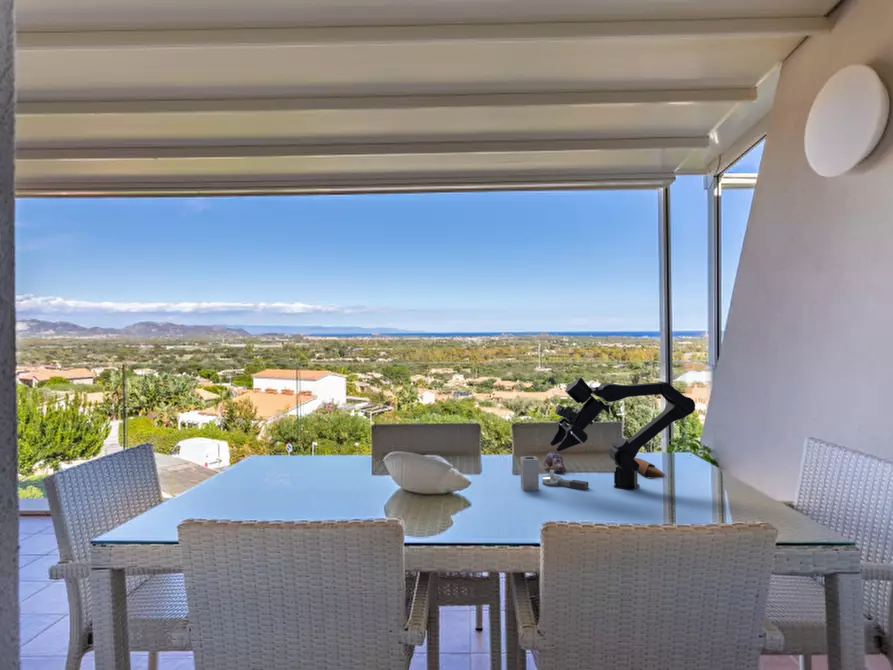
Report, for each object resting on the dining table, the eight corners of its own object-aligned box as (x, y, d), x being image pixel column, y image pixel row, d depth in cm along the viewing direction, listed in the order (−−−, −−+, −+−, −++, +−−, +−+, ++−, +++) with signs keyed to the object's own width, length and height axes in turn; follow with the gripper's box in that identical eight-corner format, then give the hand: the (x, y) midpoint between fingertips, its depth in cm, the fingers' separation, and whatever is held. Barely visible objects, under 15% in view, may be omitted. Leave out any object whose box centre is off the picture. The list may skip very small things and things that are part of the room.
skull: (568, 474, 215) (568, 457, 215) (547, 474, 215) (547, 457, 215) (562, 466, 227) (562, 450, 227) (542, 466, 227) (542, 450, 227)
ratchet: (590, 486, 197) (590, 473, 197) (582, 491, 192) (582, 477, 192) (547, 480, 207) (547, 467, 207) (539, 484, 202) (538, 470, 202)
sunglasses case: (669, 477, 209) (659, 460, 208) (652, 487, 208) (642, 471, 208) (648, 465, 227) (639, 450, 226) (633, 475, 226) (624, 460, 226)
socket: (535, 486, 199) (535, 456, 198) (538, 490, 194) (538, 459, 193) (520, 486, 198) (520, 456, 198) (523, 490, 193) (523, 459, 193)
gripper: (563, 393, 205) (531, 425, 205) (577, 399, 187) (542, 435, 186) (586, 415, 206) (554, 448, 205) (602, 424, 187) (567, 460, 187)
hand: (554, 447), depth 196 cm, fingers open, 9 cm apart
